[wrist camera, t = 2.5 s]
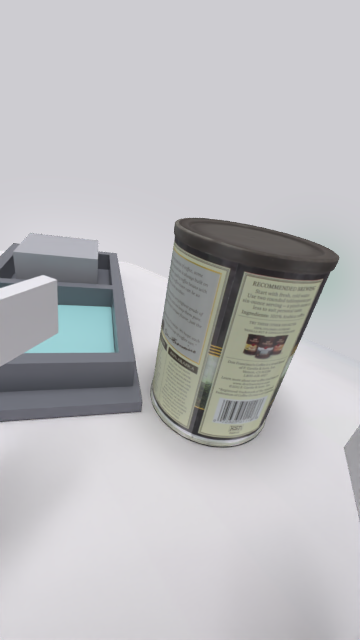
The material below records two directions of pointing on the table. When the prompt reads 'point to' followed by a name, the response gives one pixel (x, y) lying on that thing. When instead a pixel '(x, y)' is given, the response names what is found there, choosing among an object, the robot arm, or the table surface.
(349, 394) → the table surface
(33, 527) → the table surface
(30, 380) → the grey compartment tray
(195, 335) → the coffee can
